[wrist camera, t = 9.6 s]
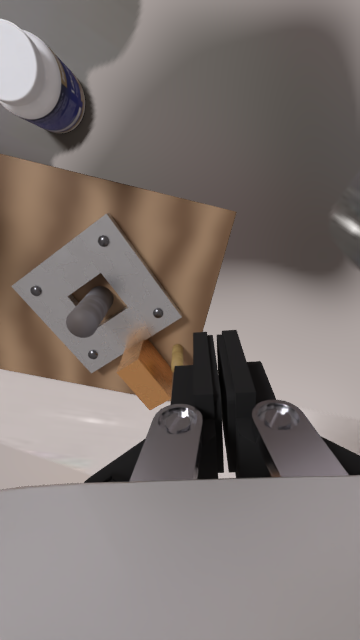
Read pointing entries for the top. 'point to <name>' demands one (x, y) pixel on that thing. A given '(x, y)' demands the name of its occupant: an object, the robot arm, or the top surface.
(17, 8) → the top surface
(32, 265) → the board
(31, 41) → the pill bottle
